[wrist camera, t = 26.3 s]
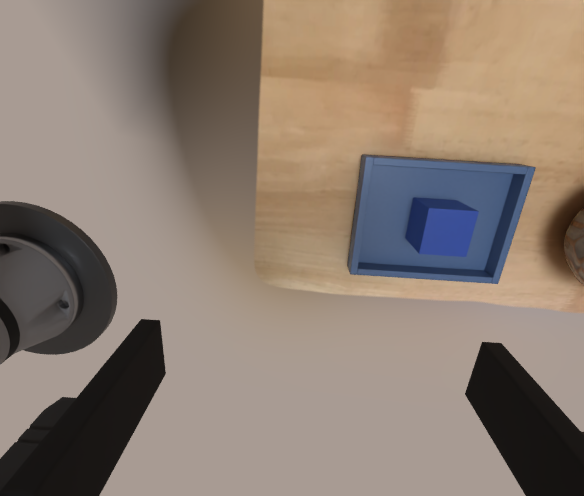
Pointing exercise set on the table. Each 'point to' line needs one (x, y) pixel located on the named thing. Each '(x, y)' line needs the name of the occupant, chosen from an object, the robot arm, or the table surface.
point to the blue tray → (436, 185)
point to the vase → (575, 246)
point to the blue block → (440, 227)
